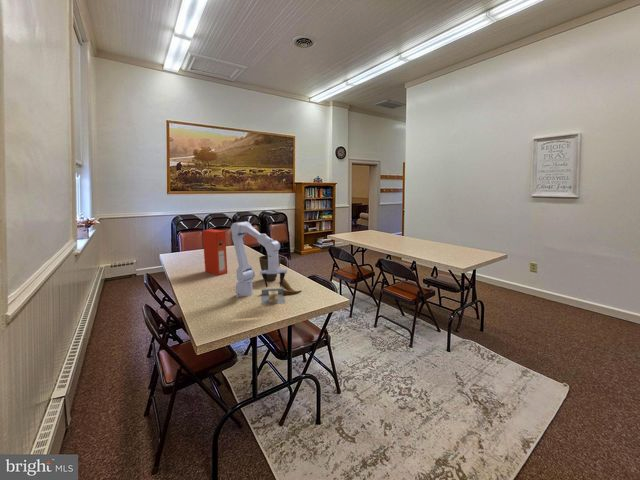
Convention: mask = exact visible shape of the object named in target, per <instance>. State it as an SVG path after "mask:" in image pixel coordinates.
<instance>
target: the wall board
mask: <svg viewBox="0 0 640 480" xmlns="http://www.w3.org/2000/svg"><path fill="white" fill-rule="evenodd" d="M284 290H285V287H277V288H262V289H261V305H262V306H264V305H282V304H283V305H284V304H286V298H285V295H283V291H284ZM269 291H278V303H269Z"/></svg>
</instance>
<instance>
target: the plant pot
mask: <svg viewBox="0 0 640 480" xmlns="http://www.w3.org/2000/svg"><path fill="white" fill-rule="evenodd" d="M258 259H259V260H258V261H259V266H260V269H261V270H260V271H263V270H268V254H266V255H261V256H259V257H258ZM281 259H282V257H281V256H280V255H278V264H279V267H280V266H281ZM277 277H278V274H267V282H273V281H275V280H276V279H277Z"/></svg>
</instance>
